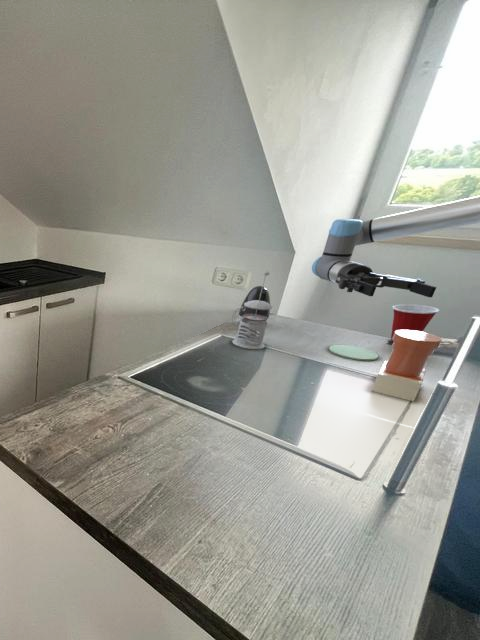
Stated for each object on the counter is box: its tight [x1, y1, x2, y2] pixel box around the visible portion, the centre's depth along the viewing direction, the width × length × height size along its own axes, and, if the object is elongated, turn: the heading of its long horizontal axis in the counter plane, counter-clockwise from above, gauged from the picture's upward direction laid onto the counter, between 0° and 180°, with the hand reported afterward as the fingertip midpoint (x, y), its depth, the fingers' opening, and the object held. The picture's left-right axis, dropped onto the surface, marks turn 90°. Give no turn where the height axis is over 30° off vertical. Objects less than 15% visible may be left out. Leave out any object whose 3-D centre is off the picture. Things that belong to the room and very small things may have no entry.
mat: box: [328, 344, 379, 361], centre depth 125 cm, size 12×12×1 cm
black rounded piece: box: [238, 285, 271, 325], centre depth 149 cm, size 10×10×15 cm
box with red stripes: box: [370, 360, 426, 402], centre depth 102 cm, size 12×8×5 cm
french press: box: [231, 270, 273, 350], centre depth 130 cm, size 10×12×25 cm
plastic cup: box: [390, 304, 440, 341], centre depth 130 cm, size 11×11×12 cm
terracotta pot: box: [385, 330, 443, 377], centre depth 99 cm, size 8×8×10 cm
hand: (402, 291), depth 102 cm, fingers open, 13 cm apart
